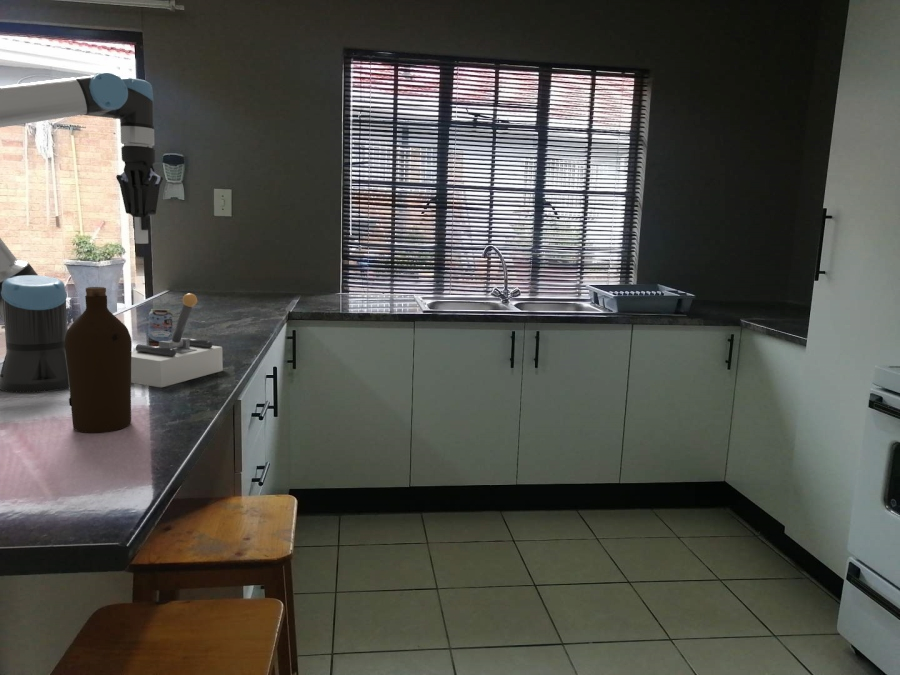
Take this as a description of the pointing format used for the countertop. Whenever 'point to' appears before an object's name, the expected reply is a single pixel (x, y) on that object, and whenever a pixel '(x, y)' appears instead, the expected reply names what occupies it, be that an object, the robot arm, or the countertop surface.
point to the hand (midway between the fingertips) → (141, 243)
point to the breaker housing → (174, 362)
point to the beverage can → (159, 326)
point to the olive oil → (98, 367)
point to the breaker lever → (183, 319)
